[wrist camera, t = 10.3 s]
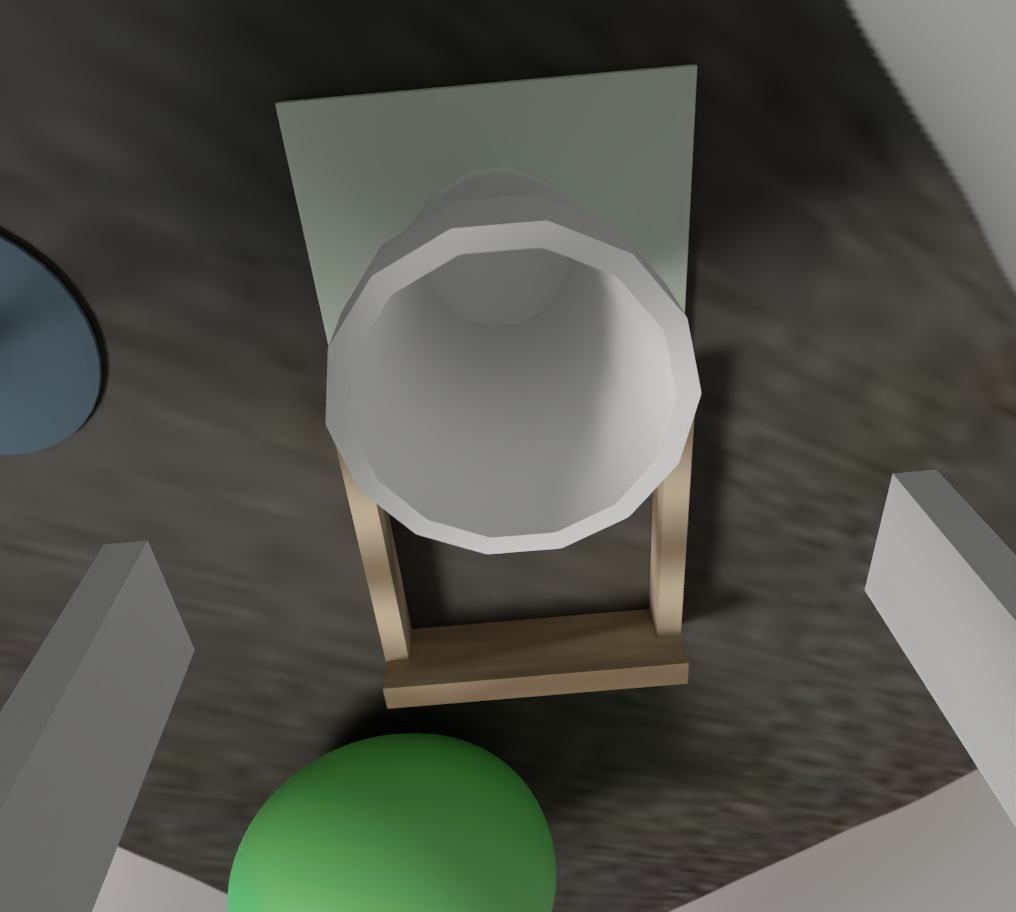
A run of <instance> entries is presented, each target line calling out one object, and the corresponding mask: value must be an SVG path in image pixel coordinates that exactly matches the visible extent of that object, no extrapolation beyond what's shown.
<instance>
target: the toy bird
mask: <svg viewBox="0 0 1016 912" xmlns="http://www.w3.org/2000/svg"><path fill="white" fill-rule="evenodd" d="M555 889H556V860H555V852H554V846H553V841H552V837H551V833H550V830H549V827H548V824H547V821H546V819H545V816H544V814H543V812H542V810H541V807H540V806H539V804H538V802H537V800H536V798H535V797H534V795H533V793H532V792H531V790H530V789H529V788H528V786H527V785H526V784H525V782H524V781H523V780H522V779H521V777H520V776H519V775H518V774H517V773H516V772H515V771H514V770H513V769H512V768H511V767H510V766H508V765H507V764H506V763H505V762H504V761H502V760H501V759H500V758H498V757H497V756H495V755H494V754H492V753H490V752H489V751H487V750H485V749H483V748H481V747H479V746H477V745H474V744H472V743H469V742H466V741H463V740H460V739H457V738H453V737H448V736H443V735H437V734H427V733H400V734H390V735H383V736H377V737H372V738H368V739H364V740H360V741H357V742H354V743H351V744H348V745H345V746H342V747H340V748H338V749H335V750H333V751H331V752H329V753H327V754H325V755H323V756H321V757H320V758H318V759H316V760H314V761H313V762H311V763H310V764H308V765H307V766H305V767H304V768H302V769H301V770H299V771H298V772H297V773H295V774H294V775H293V776H292V777H290V778H289V779H288V780H287V781H286V782H285V783H284V784H282V785H281V786H280V787H279V788H278V789H277V790H276V791H275V792H274V793H273V794H272V796H271V797H270V798H269V799H268V800H267V801H266V802H265V804H264V805H263V806H262V808H261V809H260V810H259V812H258V813H257V814H256V816H255V817H254V819H253V821H252V822H251V824H250V826H249V827H248V829H247V831H246V833H245V835H244V837H243V839H242V841H241V843H240V846H239V848H238V851H237V853H236V856H235V859H234V862H233V866H232V870H231V874H230V880H229V886H228V903H227V906H228V912H552V908H553V903H554V897H555Z"/></svg>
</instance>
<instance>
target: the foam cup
mask: <svg viewBox="0 0 1016 912" xmlns="http://www.w3.org/2000/svg"><path fill="white" fill-rule="evenodd" d="M701 394H702V393H701V388H700V382H699V377H698V372H697V366H696V361H695V356H694V350H693V345H692V340H691V334H690V329H689V324H688V319H687V317H686V315H685V313H684V312H683V310H682V309H681V307H680V305H679V304H678V302H677V301H676V299H675V297H674V296H673V294H672V293H671V291H670V290H669V288H668V286H667V285H666V283H665V282H664V281H663V280H662V279H661V277H660V276H659V275H658V274H657V273H656V272H655V270H654V269H653V268H652V267H651V266H650V264H649V263H648V262H647V261H646V260H645V258H644V257H643V256H642V255H641V254H640V253H639V251H638V250H637V249H636V248H635V247H634V245H633V244H632V243H631V242H630V241H629V240H628V238H627V237H626V236H625V235H624V234H623V232H622V231H621V230H620V229H619V228H618V226H617V225H615V224H612V223H610V222H607V221H605V220H602V219H600V218H597V217H595V216H592V215H590V214H588V213H586V212H585V211H584V210H583V209H581V208H580V207H579V206H577V205H576V204H575V203H573V202H572V201H571V200H570V199H568V198H567V197H566V196H564V195H563V194H562V193H560V192H559V191H558V190H557V189H555V188H554V187H553V186H551V185H550V184H549V183H547V182H545V181H543V180H541V179H538V178H536V177H534V176H531V175H529V174H526V173H524V172H521V171H519V170H516V169H514V168H511V167H505V168H493V169H481V170H472V171H471V172H469V173H467V174H466V175H464V176H462V177H461V178H459V179H458V180H456V181H454V182H453V183H451V184H449V185H448V186H446V187H445V188H443V189H441V190H440V191H439V192H438V193H437V194H436V195H435V196H434V198H433V199H432V200H431V201H430V202H429V203H428V204H427V206H426V207H425V208H424V209H423V210H422V211H421V213H420V214H419V215H418V216H417V217H416V218H415V219H414V221H413V222H412V223H411V224H410V225H409V226H408V228H407V229H406V230H405V231H404V232H402V233H400V234H399V235H397V236H395V237H394V238H392V239H391V240H389V241H387V242H386V243H384V244H382V245H381V247H380V249H379V250H378V252H377V254H376V255H375V257H374V259H373V260H372V262H371V264H370V265H369V267H368V269H367V270H366V272H365V274H364V275H363V277H362V279H361V280H360V282H359V284H358V285H357V287H356V289H355V290H354V292H353V294H352V295H351V297H350V299H349V300H348V302H347V304H346V305H345V307H344V309H343V310H342V312H341V315H340V318H339V320H338V323H337V326H336V328H335V331H334V333H333V336H332V339H331V341H330V344H329V347H328V363H327V394H326V426H327V428H328V430H329V432H330V434H331V436H332V438H333V440H334V442H335V444H336V446H337V448H338V450H339V452H340V454H341V456H342V458H343V460H344V462H345V464H346V466H347V468H348V470H349V472H350V474H351V476H352V478H353V480H354V482H355V484H356V486H357V488H358V490H359V491H361V492H362V493H363V494H365V495H366V496H367V497H368V498H370V499H371V500H372V501H374V502H375V503H376V504H378V505H379V506H380V507H381V508H383V509H384V510H385V511H387V512H388V513H389V514H390V515H392V516H393V517H394V518H396V519H397V520H398V521H399V522H401V523H402V524H403V525H405V526H406V527H407V528H408V529H410V530H411V531H412V532H414V533H415V534H416V535H420V536H423V537H427V538H431V539H434V540H438V541H441V542H445V543H448V544H452V545H456V546H459V547H463V548H466V549H470V550H473V551H477V552H481V553H484V554H498V553H510V552H522V551H535V550H547V549H559V548H563V547H565V546H567V545H570V544H572V543H574V542H576V541H578V540H580V539H583V538H585V537H587V536H589V535H591V534H593V533H595V532H598V531H600V530H602V529H604V528H606V527H608V526H611V525H613V524H615V523H617V522H619V521H621V520H623V519H626V518H628V517H629V516H630V515H631V514H632V513H633V512H634V511H635V510H636V509H637V508H638V507H639V506H640V504H641V503H642V502H643V501H644V500H645V499H646V498H647V497H648V496H649V495H650V494H651V493H652V492H653V491H654V490H655V488H656V487H657V486H658V485H659V484H660V483H661V482H662V481H663V480H664V479H665V478H666V477H667V476H668V475H669V474H670V472H671V471H672V470H673V469H674V468H675V467H676V466H677V465H678V464H679V462H680V459H681V456H682V452H683V449H684V446H685V443H686V440H687V437H688V434H689V431H690V428H691V425H692V422H693V418H694V415H695V412H696V409H697V406H698V403H699V400H700V397H701Z"/></svg>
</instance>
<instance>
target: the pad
mask: <svg viewBox="0 0 1016 912" xmlns="http://www.w3.org/2000/svg"><path fill="white" fill-rule="evenodd" d="M696 81H697V65H694V64H691V65H680V66H669V67H658V68H647V69H636V70H625V71H613V72H602V73H591V74H580V75H569V76H558V77H547V78H536V79H525V80H514V81H502V82H491V83H480V84H469V85H458V86H447V87H436V88H425V89H414V90H403V91H391V92H380V93H369V94H358V95H347V96H336V97H325V98H314V99H303V100H292V101H280V102H277V103H275V106H276V110H277V115H278V119H279V124H280V128H281V133H282V137H283V142H284V147H285V151H286V156H287V160H288V165H289V169H290V174H291V178H292V183H293V187H294V192H295V196H296V201H297V205H298V210H299V215H300V219H301V224H302V228H303V233H304V237H305V242H306V246H307V251H308V255H309V260H310V264H311V269H312V274H313V278H314V283H315V287H316V292H317V296H318V301H319V305H320V310H321V314H322V319H323V323H324V328H325V332H326V337H327V342H328V346H329V344H330V341H331V339H332V336H333V333H334V331H335V328H336V326H337V323H338V320H339V318H340V315H341V312H342V310H343V309H344V307H345V305H346V304H347V302H348V300H349V299H350V297H351V295H352V294H353V292H354V290H355V289H356V287H357V285H358V284H359V282H360V280H361V279H362V277H363V275H364V274H365V272H366V270H367V269H368V267H369V265H370V264H371V262H372V260H373V259H374V257H375V255H376V254H377V252H378V250H379V249H380V247H381V245H382V244H384V243H386V242H387V241H389V240H391V239H392V238H394V237H395V236H397V235H399V234H400V233H402V232H404V231H405V230H406V229H407V228H408V226H409V225H410V224H411V223H412V222H413V221H414V219H415V218H416V217H417V216H418V215H419V214H420V213H421V211H422V210H423V209H424V208H425V207H426V206H427V204H428V203H429V202H430V201H431V200H432V199H433V198H434V196H435V195H436V194H437V193H438V192H439V191H440V190H441V189H443V188H445V187H446V186H448V185H449V184H451V183H453V182H454V181H456V180H458V179H459V178H461V177H462V176H464V175H466V174H467V173H469V172H471V171H472V170H481V169H493V168H505V167H511V168H514V169H516V170H519V171H521V172H524V173H526V174H529V175H531V176H534V177H536V178H538V179H541V180H543V181H545V182H547V183H549V184H550V185H551V186H553V187H554V188H555V189H557V190H558V191H559V192H560V193H562V194H563V195H564V196H566V197H567V198H568V199H570V200H571V201H572V202H573V203H575V204H576V205H577V206H579V207H580V208H581V209H583V210H584V211H585V212H586V213H588V214H590V215H592V216H595V217H597V218H600V219H602V220H605V221H607V222H610V223H612V224H615V225H617V226H618V228H619V229H620V230H621V231H622V232H623V234H624V235H625V236H626V237H627V238H628V240H629V241H630V242H631V243H632V244H633V245H634V247H635V248H636V249H637V250H638V251H639V253H640V254H641V255H642V256H643V257H644V258H645V260H646V261H647V262H648V263H649V264H650V266H651V267H652V268H653V269H654V270H655V272H656V273H657V274H658V275H659V276H660V277H661V279H662V280H663V281H664V282H665V283H666V285H667V286H668V288H669V290H670V291H671V293H672V294H673V296H674V297H675V299H676V301H677V302H678V304H679V305H680V307H681V309H682V310H683V312H684V313H685V299H686V280H687V260H688V240H689V220H690V200H691V180H692V160H693V140H694V120H695V101H696Z"/></svg>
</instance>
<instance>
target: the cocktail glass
mask: <svg viewBox="0 0 1016 912" xmlns="http://www.w3.org/2000/svg"><path fill="white" fill-rule="evenodd" d="M101 380H102V366H101V356H100V352H99V348H98V343H97V339H96V337H95V334H94V332H93V330H92V327H91V325H90V323H89V320H88V318H87V317H86V315H85V313H84V312H83V310H82V308H81V307H80V305H79V304H78V302H77V300H76V299H75V297H74V296H73V295H72V294H71V292H70V291H69V290H68V289H67V288H66V286H65V285H64V284H63V283H62V281H61V280H60V279H59V278H58V277H57V276H56V275H55V274H54V273H53V272H51V271H50V270H49V269H48V268H47V267H46V266H45V265H44V264H43V263H42V262H41V261H39V260H38V259H37V258H35V257H34V256H33V255H31V254H30V253H29V252H27V251H26V250H25V249H23V248H22V247H21V246H19V245H17V244H15V243H14V242H12V241H10V240H9V239H7V238H5V237H3V236H2V235H0V455H15V454H26V453H30V452H35V451H39V450H43V449H46V448H48V447H51V446H53V445H55V444H58V443H60V442H62V441H63V440H65V439H66V438H68V437H69V436H71V435H72V434H74V433H75V432H76V431H77V430H78V429H79V428H80V427H81V426H82V425H83V424H84V423H85V421H86V420H87V418H88V417H89V415H90V414H91V412H92V410H93V409H94V407H95V404H96V401H97V399H98V396H99V393H100V387H101Z"/></svg>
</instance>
